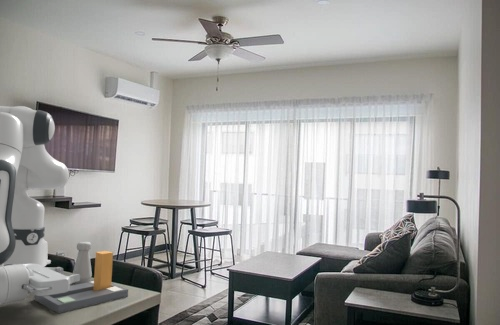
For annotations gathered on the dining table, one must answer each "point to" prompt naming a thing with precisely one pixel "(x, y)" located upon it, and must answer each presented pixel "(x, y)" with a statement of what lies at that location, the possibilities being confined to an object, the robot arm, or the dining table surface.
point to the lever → (103, 270)
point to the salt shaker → (83, 263)
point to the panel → (81, 297)
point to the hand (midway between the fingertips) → (70, 273)
